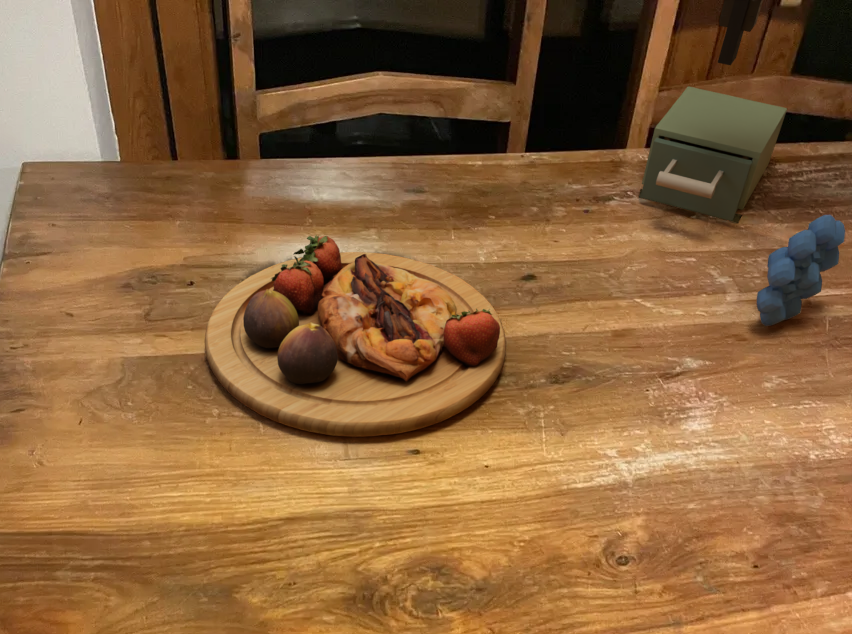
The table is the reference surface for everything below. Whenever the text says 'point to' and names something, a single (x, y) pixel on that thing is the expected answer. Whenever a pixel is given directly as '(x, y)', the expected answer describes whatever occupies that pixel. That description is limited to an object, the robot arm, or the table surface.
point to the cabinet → (724, 130)
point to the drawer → (696, 177)
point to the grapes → (799, 269)
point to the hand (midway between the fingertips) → (726, 59)
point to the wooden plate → (355, 342)
